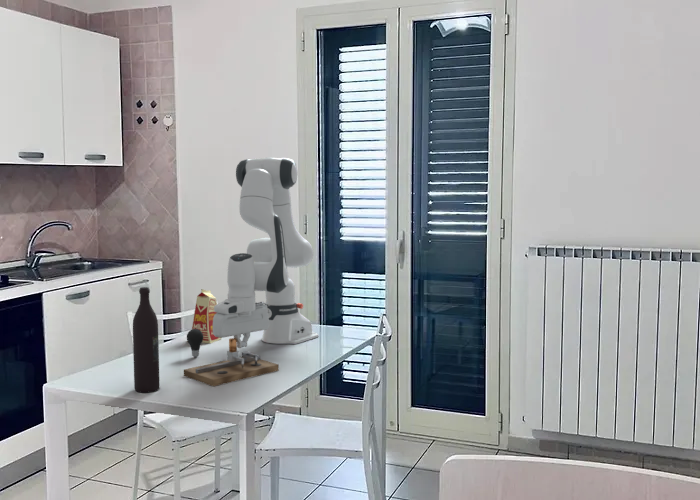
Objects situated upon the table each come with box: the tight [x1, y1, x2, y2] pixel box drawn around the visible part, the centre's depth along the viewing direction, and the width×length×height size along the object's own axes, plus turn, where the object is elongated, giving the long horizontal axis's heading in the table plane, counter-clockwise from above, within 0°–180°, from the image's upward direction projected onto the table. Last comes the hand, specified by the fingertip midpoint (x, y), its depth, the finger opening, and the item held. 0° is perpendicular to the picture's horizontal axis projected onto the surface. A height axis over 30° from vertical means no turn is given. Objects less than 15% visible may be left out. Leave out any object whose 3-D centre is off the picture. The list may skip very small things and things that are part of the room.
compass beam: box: [196, 351, 261, 374], centre depth 225 cm, size 24×6×3 cm, turn 136°
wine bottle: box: [132, 286, 160, 394], centre depth 206 cm, size 7×7×30 cm
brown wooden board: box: [183, 356, 280, 387], centre depth 225 cm, size 25×16×2 cm, turn 136°
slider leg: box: [226, 337, 244, 367], centre depth 226 cm, size 2×7×8 cm, turn 45°
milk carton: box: [191, 289, 222, 344], centre depth 271 cm, size 9×9×20 cm
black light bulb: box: [186, 328, 203, 359], centre depth 244 cm, size 6×6×10 cm
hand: (242, 347), depth 229 cm, fingers closed
